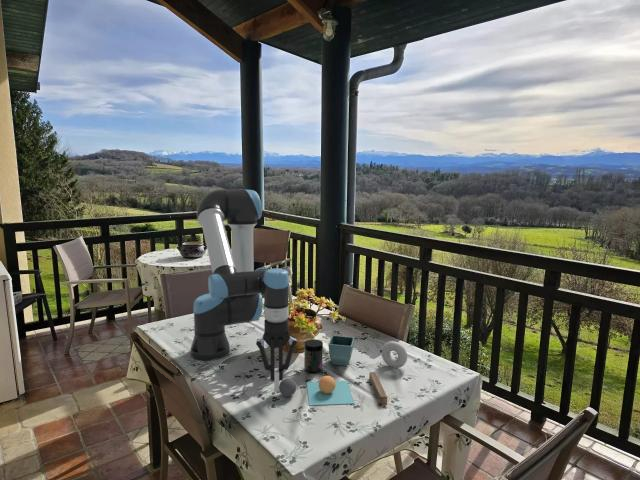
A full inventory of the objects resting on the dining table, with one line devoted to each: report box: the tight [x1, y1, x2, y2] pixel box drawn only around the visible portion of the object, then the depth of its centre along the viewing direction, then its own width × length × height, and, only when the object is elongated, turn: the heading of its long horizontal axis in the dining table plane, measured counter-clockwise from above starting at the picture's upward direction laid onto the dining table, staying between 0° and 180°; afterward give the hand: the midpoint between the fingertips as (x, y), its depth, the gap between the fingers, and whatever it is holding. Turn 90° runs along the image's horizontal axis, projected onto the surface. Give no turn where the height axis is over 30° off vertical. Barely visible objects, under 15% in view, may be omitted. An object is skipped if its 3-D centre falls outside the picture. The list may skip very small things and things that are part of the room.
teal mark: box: [306, 380, 356, 407], centre depth 127 cm, size 14×14×1 cm
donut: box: [381, 340, 408, 369], centre depth 144 cm, size 10×4×10 cm, turn 55°
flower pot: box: [328, 334, 355, 367], centre depth 147 cm, size 9×9×9 cm
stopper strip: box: [369, 371, 388, 405], centre depth 128 cm, size 2×16×2 cm, turn 5°
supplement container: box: [303, 339, 324, 375], centre depth 141 cm, size 7×7×10 cm
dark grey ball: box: [279, 377, 297, 397], centre depth 125 cm, size 6×6×6 cm
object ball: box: [318, 375, 336, 394], centre depth 126 cm, size 6×6×6 cm
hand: (276, 389), depth 125 cm, fingers closed
